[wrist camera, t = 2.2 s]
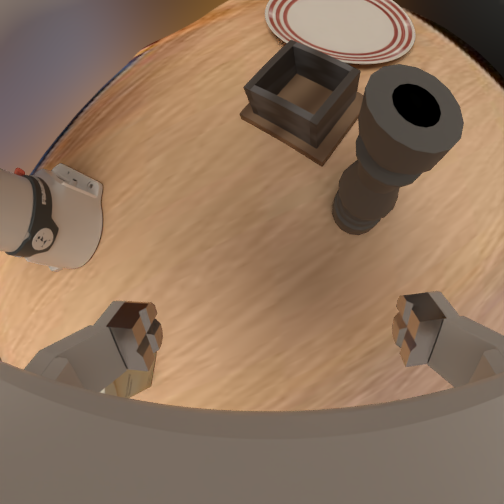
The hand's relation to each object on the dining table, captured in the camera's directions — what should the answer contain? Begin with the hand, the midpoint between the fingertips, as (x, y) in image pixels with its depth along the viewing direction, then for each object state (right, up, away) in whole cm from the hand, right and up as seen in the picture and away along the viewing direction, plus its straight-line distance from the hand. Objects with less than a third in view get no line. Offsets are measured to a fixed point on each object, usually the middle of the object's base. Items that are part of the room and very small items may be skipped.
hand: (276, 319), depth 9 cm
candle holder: (+13, +7, +27) cm, 31 cm away
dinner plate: (+16, +44, +30) cm, 55 cm away
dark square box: (+7, +23, +29) cm, 38 cm away
